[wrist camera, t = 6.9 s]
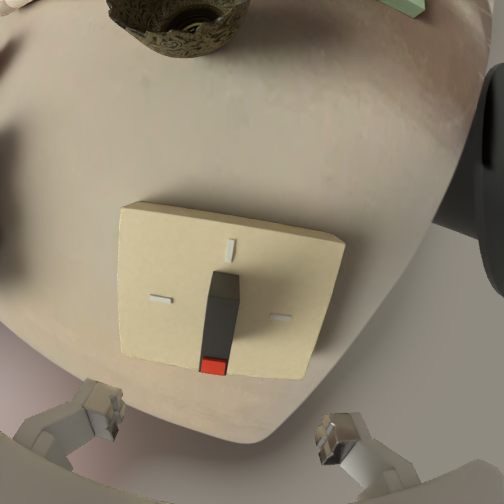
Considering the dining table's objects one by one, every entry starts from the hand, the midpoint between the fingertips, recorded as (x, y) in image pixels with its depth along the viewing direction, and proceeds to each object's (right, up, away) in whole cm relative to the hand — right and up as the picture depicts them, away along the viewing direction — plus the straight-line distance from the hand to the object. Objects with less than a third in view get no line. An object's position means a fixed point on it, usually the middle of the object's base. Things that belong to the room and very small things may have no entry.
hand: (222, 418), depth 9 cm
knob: (-1, +3, +8) cm, 9 cm away
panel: (-1, +4, +11) cm, 12 cm away
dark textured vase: (-3, +22, +6) cm, 22 cm away
